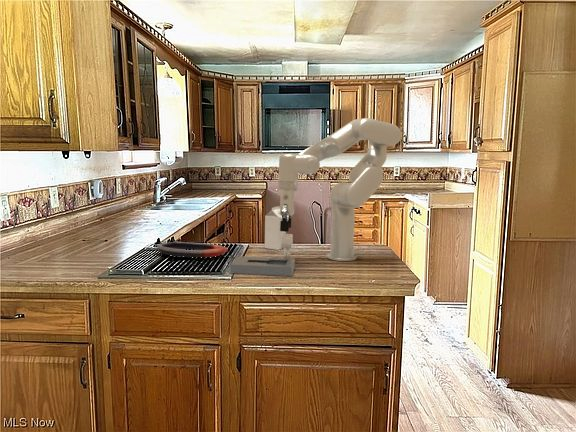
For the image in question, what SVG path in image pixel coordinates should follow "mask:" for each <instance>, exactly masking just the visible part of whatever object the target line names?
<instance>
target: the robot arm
mask: <svg viewBox="0 0 576 432" xmlns="http://www.w3.org/2000/svg"><path fill="white" fill-rule="evenodd" d="M401 138H402V131H401V129H400V128H399V126H397V125H396V124H393V123H391V122H386V121H381V120H378V119H374V118H369V117H365V118H364V117H363V118H357V119H353V120H351V121H350V122H348V123H346V124H345V125H344V126H342V127H341V128H339V129H338V130H336V131H335V132H333V133H332V134H330V135H328V136H326V137H325V138H323V139H321V140H320V141H318V142H316V143H313V144H312V145H310V146H308V147H307V148H306V149H304V150H302V151H301V152H299V153H298V154H290V153H282V154H281V155H279V160H278V181H277V183H278V184H277V190H280V198H279V200H280V201H279V203H280V204H279V206H280V215H281V222H280V231H284V232H286V233H287V232H288V233H289V229H291V228H292V217H293V215H294V214H295V201H296V199H295V198H296V197H295V195H296V194H295V191H298V180H299V179H298V178H299V174H305V175H312V174H315V173H316V172H317V171H319V169H320V167H321V165H320V164H321V163H320V162H322V161H323V160H326V159H329V158H334V157H336V156H339V155H342V154H343V153H344V152H345V151H347V150H349V149H350V148H352V147H353V146H354V145H356V144H357V143H358V142H360V141H365V140H366V141H368V149H367V152H366V153H365V155H364V156H363V157H362V158H361V159H360V160H359V161H358V162H357V164H355V166H354V167H352V169H351V170H350V173H349V175H348V176H349V177H348V178H349V181H350V182H344V181H342V182H337V183H336V184H334V185H333V186H332V188H331V190H330V196H329V197H330V207H331V221H330V222H331V224H330V247H329V248H330V250H329V251H330V252H328V253H326V256H325V257H326V258H327V259H329V260H333V261H339V262H349V261H350V262H351V261H355V260H357V258H358V257H357V255H358V256H359V255H360V256H364V255H365V250H363V249H356V248H355V246H354V242H355V238H354V237H355V220H356V219H355V217H356V216H355V215H356V214H355V213H356V212H355V209H357V208H360V207H362V206H363V205H364V204H366V202H367V201H368V200H369V199H370V198H371V197H372V195H373V194H374V193H375V192H376V191H377V190H378V188H379V187H380V186H381V185H382V183H383V180H384V172H383V169H382V168H383V165H385V163H386V161H387V157H388V156H387V154H388V152H387V147H392V146H395V145H397V144H398V143H399V142H400V141H401Z"/></svg>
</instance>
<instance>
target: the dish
mask: <svg viewBox="0 0 576 432" xmlns="http://www.w3.org/2000/svg"><path fill="white" fill-rule="evenodd" d="M156 247H157V249H158V251H159V253H160V252H161V253H163V254H167V255H173V256H185V257H213V256H220V255H222V256H223V255H225V253H227V252H228V251H229V248H228V247H226V246H222V245H220V244H219V245H217V244H212V243H205V242H204V243H202V242H188V241H187V242H185V241H184V242H183V241H182V242H181V241H178V240H174V241H173V242H172V241H171V242H170V241H169V242H161V243H159V244H157V246H156ZM186 249H194V250H186ZM163 254H162V255H163ZM220 257H221V256H220Z"/></svg>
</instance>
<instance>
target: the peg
mask: <svg viewBox="0 0 576 432" xmlns="http://www.w3.org/2000/svg"><path fill="white" fill-rule="evenodd" d="M293 237H294V235H293V234H292V233H286V234H282V242H281V248H282V249H283V258H288V259H293V258H292V257H290V256H291V249H292V248H293Z"/></svg>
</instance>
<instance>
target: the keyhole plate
mask: <svg viewBox="0 0 576 432" xmlns="http://www.w3.org/2000/svg"><path fill="white" fill-rule="evenodd" d="M229 267H230V271H231V272H233V273H232V274H237V275H239V274H240V275H256V276H257V275H261V276H277V277H278V276H279V277H280V276H281V277H292V276H293V274H294V270H295V267H296V258H292V259H288V258H284V257H262V256H243V255H242V256H241V255H240V256H239V255H238V256H237V257H236V258H235V259H234V261H232V263H231V264H230V266H229Z"/></svg>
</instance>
